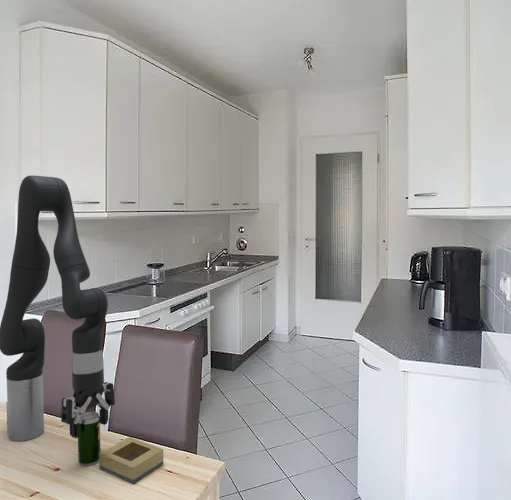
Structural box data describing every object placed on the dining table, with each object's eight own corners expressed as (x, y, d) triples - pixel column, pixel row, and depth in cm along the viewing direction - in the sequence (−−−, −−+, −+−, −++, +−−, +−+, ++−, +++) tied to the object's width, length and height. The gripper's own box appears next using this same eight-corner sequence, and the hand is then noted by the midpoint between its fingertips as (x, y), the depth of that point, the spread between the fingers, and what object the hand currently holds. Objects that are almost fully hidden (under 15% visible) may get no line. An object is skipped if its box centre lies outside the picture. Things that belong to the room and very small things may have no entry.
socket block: (99, 469, 110) (99, 453, 110) (130, 451, 118) (130, 437, 118) (133, 484, 104) (133, 467, 103) (163, 464, 112) (163, 449, 112)
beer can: (80, 469, 110) (79, 422, 109) (76, 459, 114) (75, 414, 114) (102, 462, 113) (102, 417, 112) (97, 453, 117) (96, 409, 117)
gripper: (101, 358, 120) (102, 416, 121) (53, 373, 108) (55, 438, 109) (120, 362, 116) (121, 423, 117) (72, 378, 104) (74, 446, 105)
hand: (89, 430), depth 113 cm, fingers open, 8 cm apart
